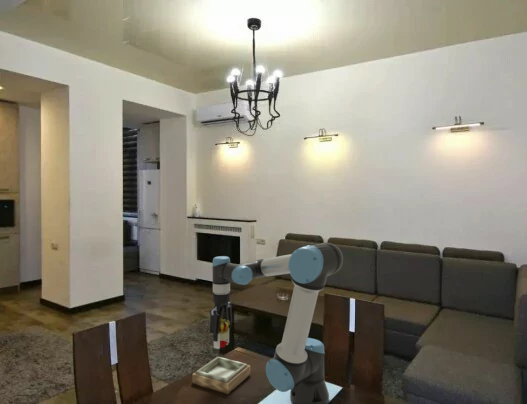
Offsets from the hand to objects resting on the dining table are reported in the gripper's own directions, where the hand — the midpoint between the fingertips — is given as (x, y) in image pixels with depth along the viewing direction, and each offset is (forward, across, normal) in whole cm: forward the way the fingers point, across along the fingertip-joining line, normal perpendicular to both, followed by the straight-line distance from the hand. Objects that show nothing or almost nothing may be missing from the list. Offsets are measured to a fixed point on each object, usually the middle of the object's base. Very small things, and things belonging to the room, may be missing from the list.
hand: (221, 344), depth 157 cm
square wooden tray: (+15, 0, 0) cm, 15 cm away
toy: (+2, 0, 0) cm, 2 cm away
